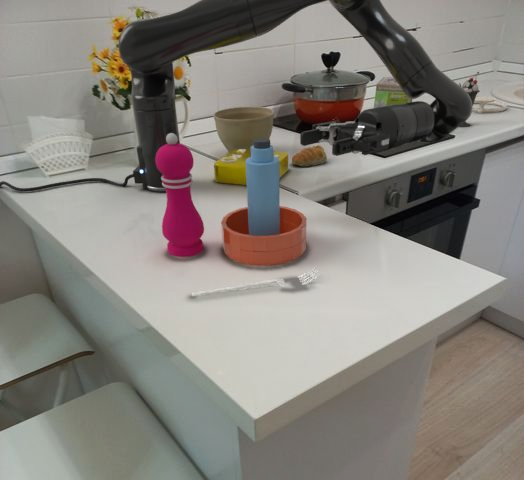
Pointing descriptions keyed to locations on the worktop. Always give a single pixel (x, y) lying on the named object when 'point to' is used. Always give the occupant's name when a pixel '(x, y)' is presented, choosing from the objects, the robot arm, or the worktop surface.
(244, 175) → the element tile
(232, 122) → the planter bowl
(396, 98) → the tea box
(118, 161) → the worktop surface
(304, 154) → the pastry
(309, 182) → the worktop surface
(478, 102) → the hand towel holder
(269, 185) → the bottle
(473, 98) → the sundae
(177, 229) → the pepper mill
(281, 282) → the fork
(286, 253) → the pot
